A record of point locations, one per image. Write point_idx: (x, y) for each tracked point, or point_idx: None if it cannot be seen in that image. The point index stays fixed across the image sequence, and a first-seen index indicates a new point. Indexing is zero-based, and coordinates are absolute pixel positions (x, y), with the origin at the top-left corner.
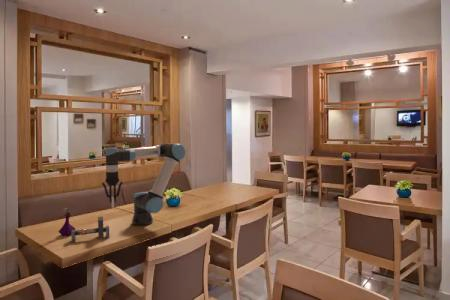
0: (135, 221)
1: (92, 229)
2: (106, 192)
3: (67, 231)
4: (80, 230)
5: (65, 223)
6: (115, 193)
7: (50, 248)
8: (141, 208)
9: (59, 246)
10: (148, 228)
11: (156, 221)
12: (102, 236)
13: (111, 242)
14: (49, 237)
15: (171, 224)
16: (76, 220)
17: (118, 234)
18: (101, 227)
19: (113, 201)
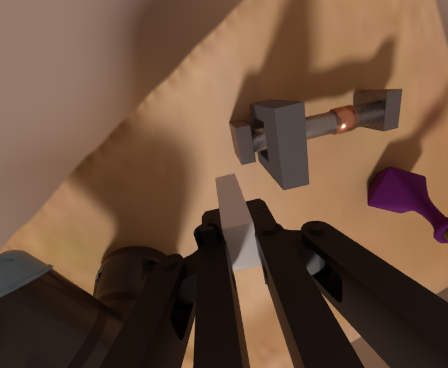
0: (156, 264)
1: (310, 123)
2: (377, 271)
3: (396, 169)
4: (362, 113)
5: (427, 197)
6: (201, 283)
7: (440, 29)
8: (99, 303)
9: (408, 49)
10: (94, 213)
11: (89, 284)
12: (256, 103)
13: (208, 55)
14: (435, 165)
15: (10, 249)
16: None
17: (200, 159)
18: (270, 104)
19: (225, 203)
